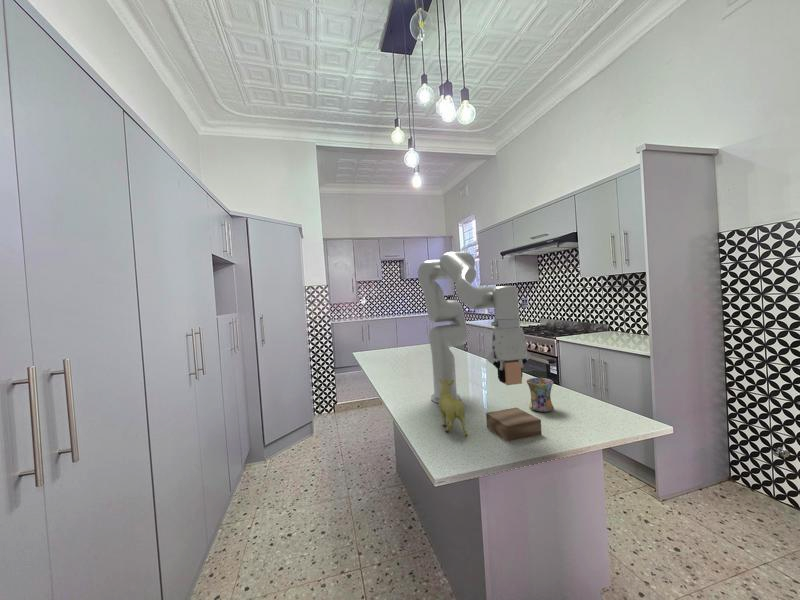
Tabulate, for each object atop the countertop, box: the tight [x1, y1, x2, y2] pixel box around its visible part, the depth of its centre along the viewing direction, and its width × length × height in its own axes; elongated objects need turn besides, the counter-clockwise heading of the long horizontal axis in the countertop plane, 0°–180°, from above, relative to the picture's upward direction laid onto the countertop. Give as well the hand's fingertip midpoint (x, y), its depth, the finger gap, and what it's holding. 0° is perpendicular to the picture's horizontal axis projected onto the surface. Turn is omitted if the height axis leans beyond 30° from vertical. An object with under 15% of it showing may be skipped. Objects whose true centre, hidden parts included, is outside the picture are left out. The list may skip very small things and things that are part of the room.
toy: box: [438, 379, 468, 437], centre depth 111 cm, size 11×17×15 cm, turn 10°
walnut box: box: [485, 407, 542, 442], centre depth 105 cm, size 12×12×5 cm
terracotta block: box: [499, 360, 523, 386], centre depth 105 cm, size 5×5×7 cm
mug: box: [526, 377, 554, 413], centre depth 123 cm, size 12×9×11 cm
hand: (510, 379), depth 105 cm, fingers closed on terracotta block, 5 cm apart
